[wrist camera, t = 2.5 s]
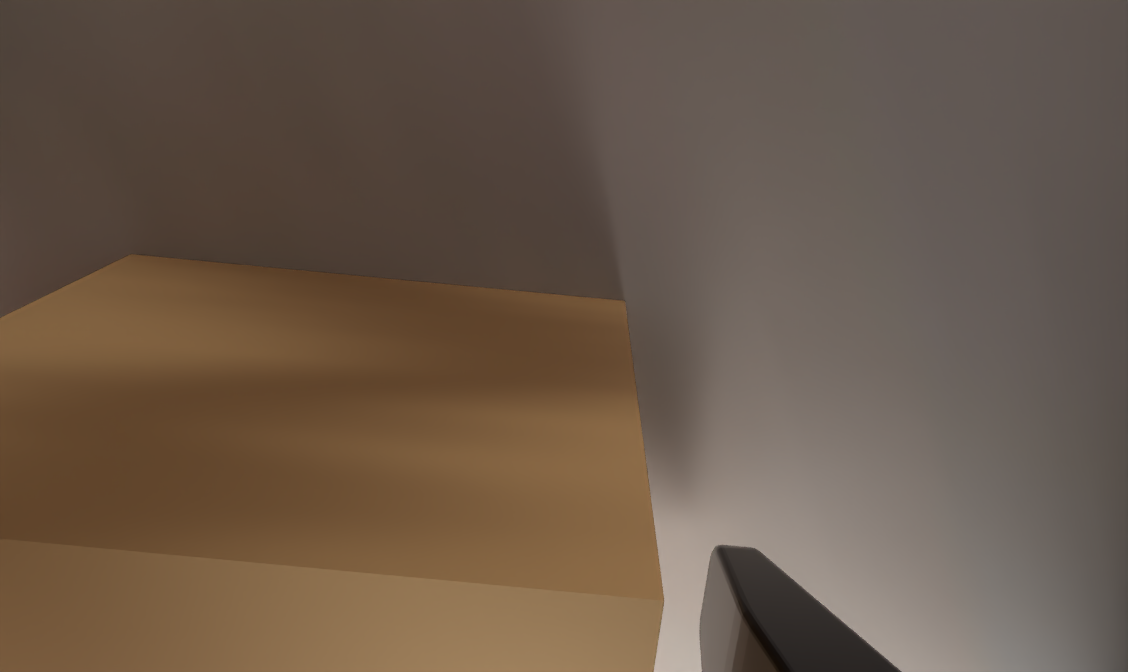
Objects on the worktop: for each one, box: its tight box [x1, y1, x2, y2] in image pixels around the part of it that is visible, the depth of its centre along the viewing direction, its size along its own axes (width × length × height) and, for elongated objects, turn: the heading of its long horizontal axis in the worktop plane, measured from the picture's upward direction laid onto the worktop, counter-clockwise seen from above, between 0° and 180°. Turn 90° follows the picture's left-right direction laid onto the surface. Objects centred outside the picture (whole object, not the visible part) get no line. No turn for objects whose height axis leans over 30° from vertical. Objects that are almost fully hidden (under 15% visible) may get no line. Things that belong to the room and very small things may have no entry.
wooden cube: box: [0, 254, 664, 672], centre depth 7 cm, size 5×5×5 cm
